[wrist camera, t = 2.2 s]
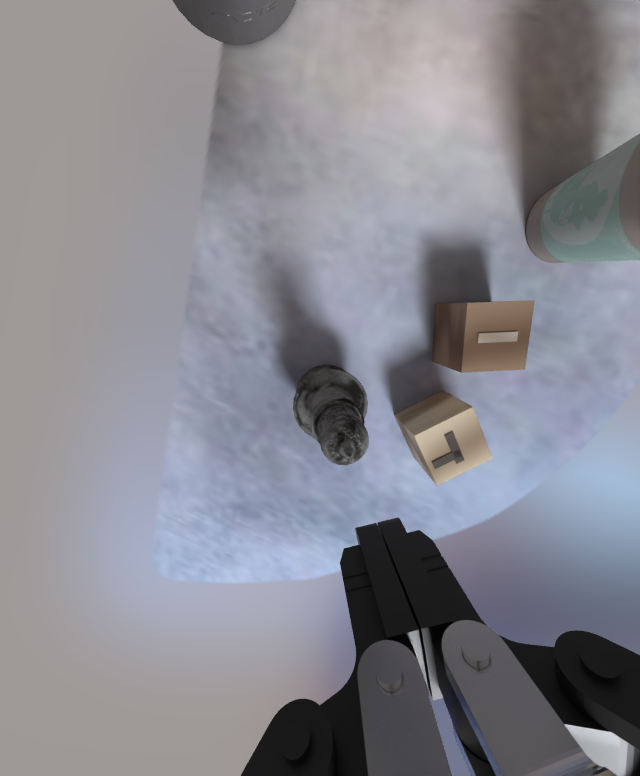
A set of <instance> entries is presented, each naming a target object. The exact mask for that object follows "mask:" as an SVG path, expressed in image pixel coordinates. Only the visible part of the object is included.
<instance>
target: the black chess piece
mask: <svg viewBox="0 0 640 776" xmlns="http://www.w3.org/2000/svg"><path fill="white" fill-rule="evenodd" d="M367 406H368V401H367V394H366V392H365V390H364V388H363V386H362V384H361V383H360V382H359V381H358V380H357V378H355V377H354V376H352V375H351V374H349V373H347V372H345V371H344V370H342V369H341V368H338V367H336V366H333V365H322V366H317V367H315V368H313V369H311V370H309V371H308V372H307V373H306V374H305V375H304V376H303V377H302V379H301V380H300V382H299V384H298V387H297V392H296V394H295V397H294V405H293V410H294V415H295V419H296V420H297V422H298V424H299V426H300V427H301V428H302V429H303V430H304V431H305V433H307V434H308V435H310V436H312V437H313V438H315V439H316V440H317V441H318V442H319V443H320V445H321V449H322V451H323V453H324V455H325V456H326V457H327V458H328V459H329V460H330V461H331V462H333V463H335V464H338V465H349V464H352V463H354V462H356V461H358V460H359V459H360V458H362V457H363V455H364V454H365V453H366V450H367V448H368V443H369V438H368V432H367V430H366V428H365V426H364V418H365V416H366V413H367Z"/></svg>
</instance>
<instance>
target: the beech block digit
mask: <svg viewBox="0 0 640 776" xmlns="http://www.w3.org/2000/svg"><path fill="white" fill-rule="evenodd" d="M394 416H395V418H396V420H397V422H398V424H399V426H400V429H401V431H402V433H403V435H404V437H405V439H406V442H407V444H408V446H409V448H410V450H411V452H412V454H413V457H414V458H415V459H416V461H417V462H418V463H419V464H420V466H421V467H422V468H423V469H424V471H425V472H426V473H427V474H428V476H429V477H430V478H431V479H432V480H433V482H434V483H435V484H436V485H439V484H441V483H443V482H445V481H448V480H450V479H452V478H454V477H456V476H458V475H460V474H462V473H464V472H466V471H468V470H470V469H472V468H474V467H476V466H478V465H480V464H482V463H484V462H486V461H488V460H491V459H492V456H491V453H490V451H489V448H488V445H487V443H486V440H485V437H484V435H483V432H482V430H481V427H480V424H479V422H478V419H477V416H476V414H475V411H474V408H473V407H472V406H470V405H469V404H467V403H465V402H463V401H461V400H459V399H458V398H456V397H454V396H452V395H450V394H449V393H447V392H445V391H443V390H442V391H440V392H438V393H436V394H434V395H432V396H430V397H428V398H426V399H425V400H423V401H421V402H419V403H417V404H415V405H413V406H411V407H409V408H407V409H405V410H403V411H401V412H399V413H397V414H395V415H394Z"/></svg>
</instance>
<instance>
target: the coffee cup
mask: <svg viewBox="0 0 640 776" xmlns="http://www.w3.org/2000/svg"><path fill="white" fill-rule="evenodd" d="M526 236H527V241H528V245H529V247H530V249H531V251H532V252H533V253H534V254H535V255H536V256H537V257H538V258H539V259H541V260H543V261H546V262H551V263H556V262H590V261H619V260H640V134H639V135H637V136H635V137H634V138H632V139H631V140H629V141H627V142H626V143H624V144H622V145H621V146H619V147H618V148H616V149H614V150H613V151H611V152H610V153H608V154H606V155H605V156H603V157H602V158H600V159H598V160H597V161H595V162H594V163H592V164H590V165H589V166H587V167H586V168H584V169H582V170H581V171H579V172H577V173H576V174H574V175H573V176H571V177H569V178H568V179H566V180H565V181H563V182H562V183H560V184H558V185H557V186H555V187H554V188H552V189H551V190H549V191H547V192H546V193H545V194H543V195H542V196H541V197H540V198H539V199H538V200H537V202H536V203H535V204H534V206H533V208H532V210H531V212H530V214H529V217H528V221H527V226H526Z"/></svg>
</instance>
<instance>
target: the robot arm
mask: <svg viewBox="0 0 640 776" xmlns="http://www.w3.org/2000/svg"><path fill="white" fill-rule="evenodd" d="M173 1H174V3H175V5H176V6H177V8H178V9H179V11H180V12H181V13H182V14H183V15H184V16H185V17H186V18H187V20H188V21H189V22H190V23H191V24H192V25H193V26H195V27H196V28H197V29H199V30H200V31H201V32H203V33H204V34H206V35H207V36H210V37H212V38H214V39H216V40H218V41H221V42H226V43H231V44H250V43H253V42H256V41H259V40H262V39H264V38H266V37H267V36H269V35H270V34H272V33H273V32H275V31H276V30H277V29H278V28H279V27H280V25H281V24H282V23H283V22H284V21H285V20H286V19H287V17H288V15H289V13H290V12H291V10H292V8H293V6H294V4H295V1H296V0H173ZM377 524H378V526H377ZM377 524H376V523H374V524H370V525H366V526H361V527H357V528H355V530H356V535H357V539H358V544H359V545H357V546H352V547H348V548H344V550H343V554H342V558H341V561H340V565H341V570H342V576H343V581H344V586H345V592H346V597H347V602H348V608H349V613H350V619H351V624H352V629H353V634H354V640H355V645H356V663H355V667H354V670H353V673H352V675H351V677H350V678H349V680H348V682H347V683H346V684H345V685H344V687H343V688H342V689H341V690H340V691H338V692H337V693H336V694H335V695H333V696H332V697H331V698H330V699H328V700H327V701H325V702H324V703H323V704H321V705H318V704H317V703H316V702H314V701H312V700H309V699H298V700H294V701H292V702H289V703H288V704H286V705H285V706H284V707H283V708H281V709H280V710H279V711H278V713H277V714H276V715H275V716H274V718H273V719H272V721H271V723H270V724H269V726H268V728H267V730H266V732H265V733H264V735H263V737H262V739H261V740H260V742H259V744H258V746H257V748H256V749H255V751H254V753H253V755H252V757H251V758H250V760H249V762H248V763H247V765H246V767H245V769H244V771H243V773H242V774H241V776H452V774H451V771H450V768H449V764H448V760H447V757H446V753H445V750H444V746H443V743H442V740H441V736H440V733H439V729H438V726H437V722H436V719H435V715H434V712H433V709H432V705H431V702H430V696H429V691H430V693H431V696H432V699H433V701H434V700H438V699H441V698H443V699H444V701H445V704H446V706H447V709H448V711H449V714H450V717H451V719H452V722H453V729H454V735H455V739H456V742H457V745H458V747H459V749H460V752H461V754H462V756H463V758H464V761H465V763H466V765H467V768H468V770H469V772H470V774H471V776H640V655H638V654H636V653H634V652H632V651H630V650H628V649H626V648H624V647H622V646H619V645H618V644H615V643H613V642H611V641H609V640H607V639H605V638H603V637H601V636H598V635H596V634H593V633H590V632H585V631H569V632H566V633H563V634H562V635H560V636H559V637H558V639H557V640H556V643H555V647H547V646H538V645H529V644H522V643H517V642H514V641H510V640H508V639H506V638H504V637H502V636H500V635H498V634H497V633H496V632H495V631H493V630H492V629H491V628H489V627H488V626H487V625H486V624H485V623H484V622H483V621H482V620H481V618H480V617H479V616H478V614H477V612H476V611H475V609H474V608H473V606H472V604H471V603H470V601H469V599H468V598H467V596H466V594H465V593H464V591H463V589H462V588H461V586H460V585H459V583H458V581H457V580H456V578H455V577H454V575H453V573H452V571H451V570H450V569H449V568H448V565H447V563H446V562H445V560H444V558H443V557H442V556H441V553H440V552H439V550H438V549H437V547H436V545H435V543H434V542H433V540H432V539H430V538H429V537H428V536H426V535H425V534H424V533H422V532H421V531H420V530H418V531H414V532H410V533H407V532H406V530H405V528H404V526H403V524H402V522H401V520H400V519H399V518H394V519H390V520H386V521H382V522H378V523H377ZM428 688H429V689H428Z"/></svg>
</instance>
